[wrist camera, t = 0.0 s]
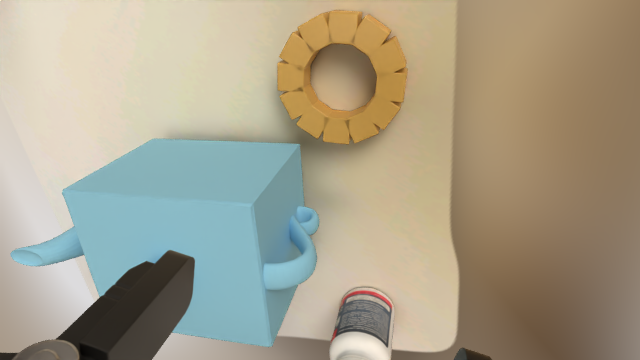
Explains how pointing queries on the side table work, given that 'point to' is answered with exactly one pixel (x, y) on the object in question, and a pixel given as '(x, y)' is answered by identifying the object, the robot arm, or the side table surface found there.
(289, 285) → the teapot
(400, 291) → the side table surface
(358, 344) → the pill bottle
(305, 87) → the ring
